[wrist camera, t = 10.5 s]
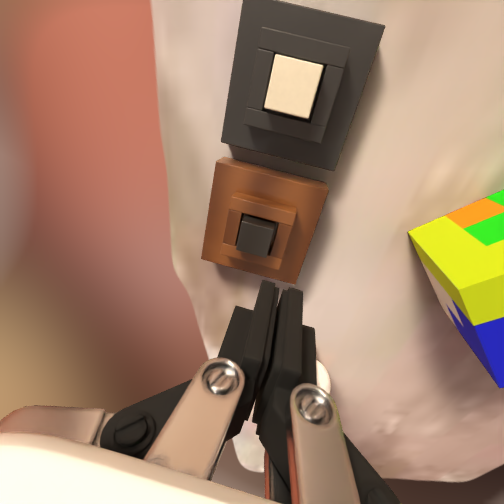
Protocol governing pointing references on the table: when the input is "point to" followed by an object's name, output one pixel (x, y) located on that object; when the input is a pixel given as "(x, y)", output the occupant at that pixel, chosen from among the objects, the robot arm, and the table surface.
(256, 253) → the key ebony
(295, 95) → the key ivory
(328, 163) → the block black
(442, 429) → the table surface
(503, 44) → the table surface
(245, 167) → the block walnut
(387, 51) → the table surface
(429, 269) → the puzzle toy
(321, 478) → the robot arm
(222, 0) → the table surface
